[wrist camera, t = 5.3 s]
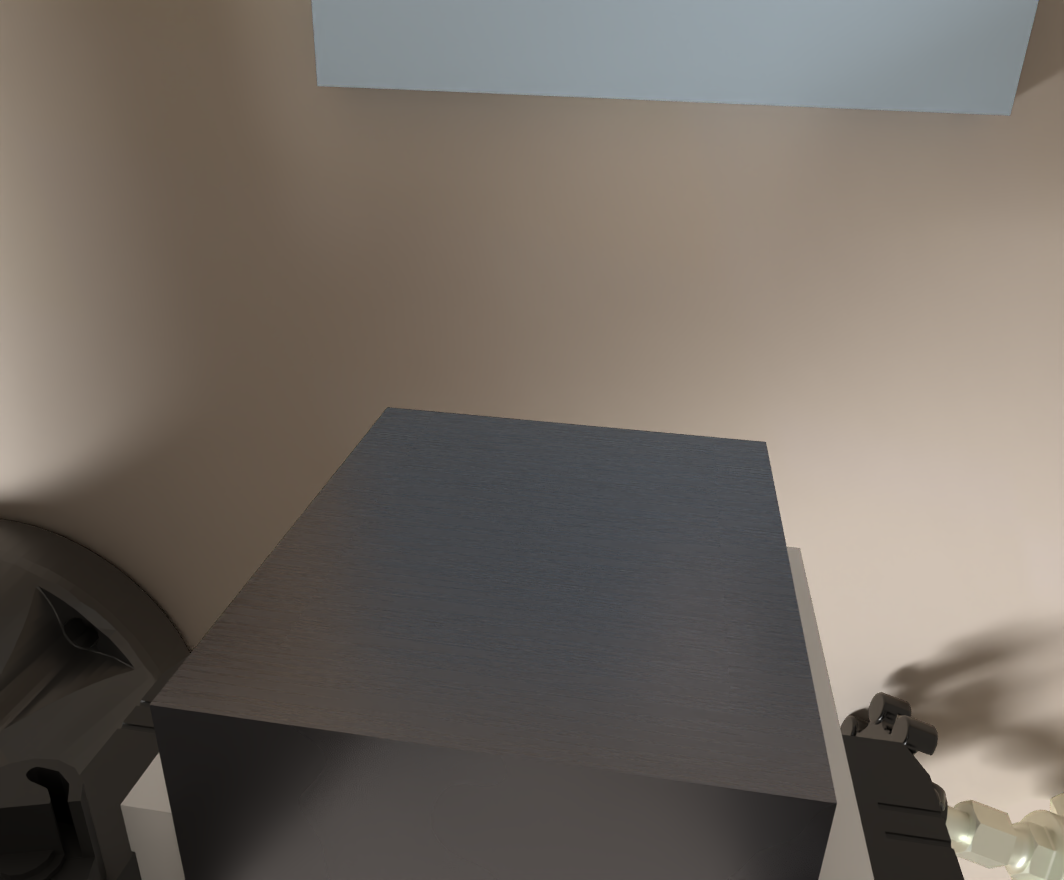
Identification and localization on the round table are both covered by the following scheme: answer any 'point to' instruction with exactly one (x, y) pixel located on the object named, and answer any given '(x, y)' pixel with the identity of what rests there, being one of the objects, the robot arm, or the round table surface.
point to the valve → (974, 804)
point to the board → (687, 50)
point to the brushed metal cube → (509, 671)
